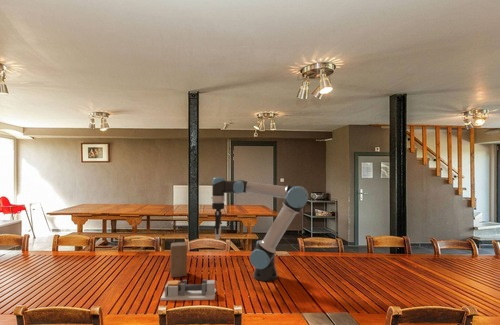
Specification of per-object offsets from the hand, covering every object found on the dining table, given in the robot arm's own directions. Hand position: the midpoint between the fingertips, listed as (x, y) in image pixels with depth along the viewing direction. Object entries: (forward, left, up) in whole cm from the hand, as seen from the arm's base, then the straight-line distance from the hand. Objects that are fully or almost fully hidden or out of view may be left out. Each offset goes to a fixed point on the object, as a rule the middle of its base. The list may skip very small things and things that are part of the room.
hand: (218, 236), depth 190 cm
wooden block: (+26, -11, -27) cm, 39 cm away
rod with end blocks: (+12, +22, -26) cm, 36 cm away
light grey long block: (+14, +22, -27) cm, 37 cm away
